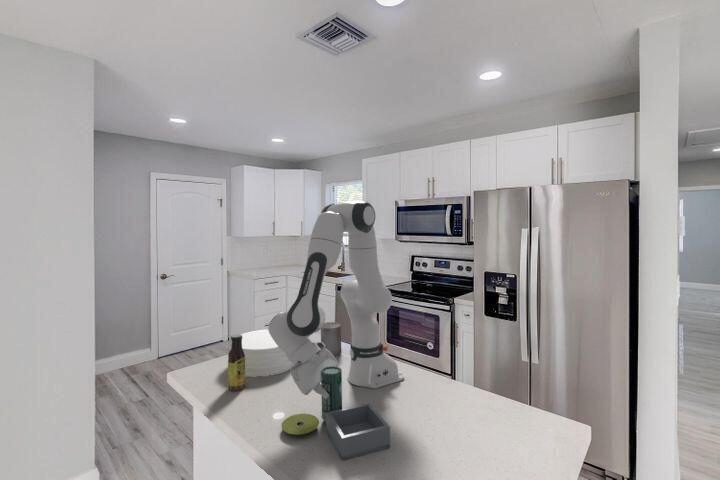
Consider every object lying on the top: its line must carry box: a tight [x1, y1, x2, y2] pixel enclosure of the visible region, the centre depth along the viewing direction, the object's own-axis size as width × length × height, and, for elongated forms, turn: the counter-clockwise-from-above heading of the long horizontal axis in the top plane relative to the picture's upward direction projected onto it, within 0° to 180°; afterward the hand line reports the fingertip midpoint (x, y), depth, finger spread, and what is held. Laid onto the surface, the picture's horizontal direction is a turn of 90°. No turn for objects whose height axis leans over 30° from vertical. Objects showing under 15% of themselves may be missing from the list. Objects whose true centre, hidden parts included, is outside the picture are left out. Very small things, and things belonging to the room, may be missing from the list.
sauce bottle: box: [227, 334, 246, 391], centre depth 135 cm, size 7×6×20 cm
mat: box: [281, 413, 320, 436], centre depth 108 cm, size 11×11×2 cm
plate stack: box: [230, 328, 293, 378], centre depth 159 cm, size 28×28×12 cm
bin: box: [325, 402, 391, 462], centre depth 102 cm, size 14×14×6 cm
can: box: [320, 366, 343, 422], centre depth 112 cm, size 6×6×15 cm
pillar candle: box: [320, 321, 342, 357], centre depth 171 cm, size 10×10×15 cm
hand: (333, 391), depth 112 cm, fingers closed on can, 6 cm apart
